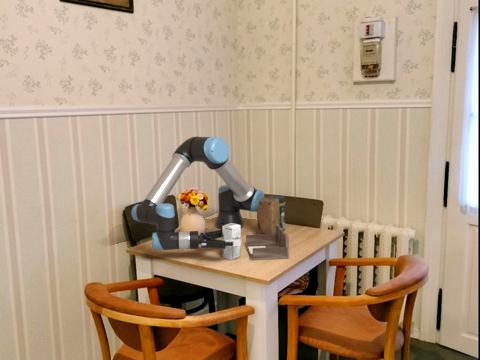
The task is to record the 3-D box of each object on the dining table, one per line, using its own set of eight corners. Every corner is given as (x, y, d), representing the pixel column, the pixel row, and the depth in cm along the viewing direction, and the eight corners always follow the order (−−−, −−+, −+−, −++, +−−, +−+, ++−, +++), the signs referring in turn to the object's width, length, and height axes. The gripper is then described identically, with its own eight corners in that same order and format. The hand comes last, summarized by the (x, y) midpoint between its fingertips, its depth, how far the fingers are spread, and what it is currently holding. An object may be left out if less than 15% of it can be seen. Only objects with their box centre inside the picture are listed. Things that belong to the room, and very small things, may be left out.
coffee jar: (264, 229, 238) (264, 195, 235) (271, 226, 245) (271, 193, 242) (280, 232, 233) (280, 197, 230) (287, 229, 239) (287, 195, 236)
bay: (245, 245, 211) (244, 225, 209) (278, 243, 213) (278, 224, 211) (251, 260, 189) (251, 238, 188) (288, 258, 191) (288, 237, 190)
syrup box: (230, 254, 197) (230, 222, 195) (241, 257, 194) (240, 224, 191) (222, 257, 193) (221, 225, 191) (232, 260, 189) (232, 227, 187)
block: (280, 237, 224) (281, 198, 221) (272, 240, 218) (273, 200, 215) (262, 233, 230) (263, 195, 227) (254, 237, 224) (254, 198, 221)
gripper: (189, 240, 203) (236, 238, 205) (189, 258, 178) (242, 255, 181) (188, 224, 201) (235, 222, 204) (189, 239, 177) (242, 237, 180)
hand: (239, 238), depth 192 cm, fingers open, 13 cm apart
